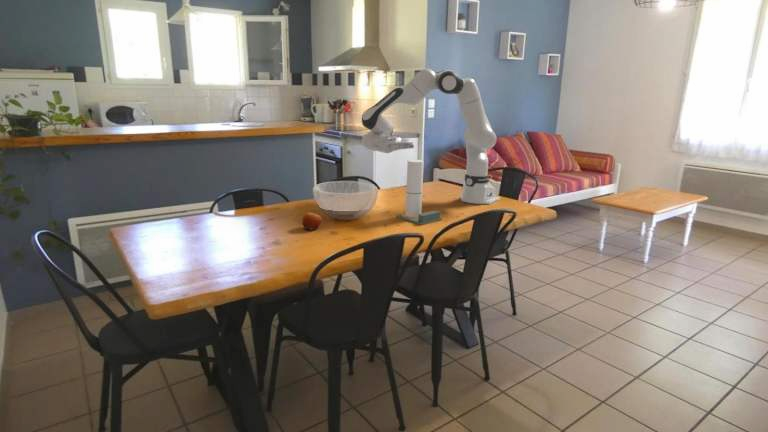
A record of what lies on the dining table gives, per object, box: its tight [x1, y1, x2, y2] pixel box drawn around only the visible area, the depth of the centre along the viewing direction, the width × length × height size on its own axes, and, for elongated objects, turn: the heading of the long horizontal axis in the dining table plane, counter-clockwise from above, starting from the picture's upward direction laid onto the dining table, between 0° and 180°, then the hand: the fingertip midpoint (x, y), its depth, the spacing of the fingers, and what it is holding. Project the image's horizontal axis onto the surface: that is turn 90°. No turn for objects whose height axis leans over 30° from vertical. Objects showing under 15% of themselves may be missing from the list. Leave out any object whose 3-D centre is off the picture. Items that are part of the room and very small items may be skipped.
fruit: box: [301, 212, 323, 232], centre depth 190 cm, size 8×8×8 cm
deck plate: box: [395, 210, 442, 226], centre depth 209 cm, size 13×16×4 cm
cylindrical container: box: [405, 159, 425, 217], centre depth 208 cm, size 7×7×25 cm
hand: (405, 147), depth 220 cm, fingers open, 8 cm apart
